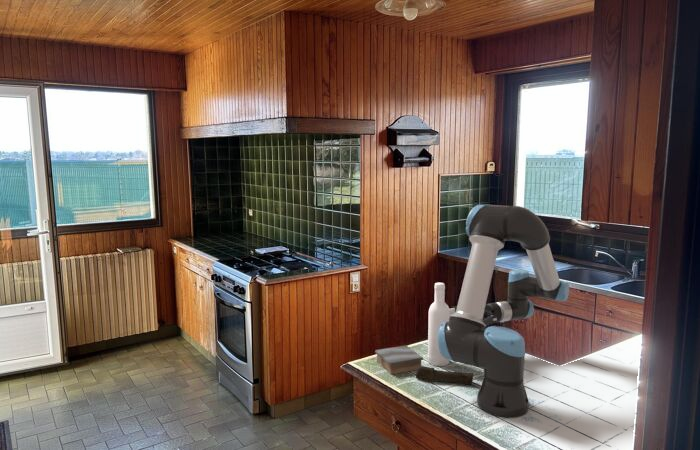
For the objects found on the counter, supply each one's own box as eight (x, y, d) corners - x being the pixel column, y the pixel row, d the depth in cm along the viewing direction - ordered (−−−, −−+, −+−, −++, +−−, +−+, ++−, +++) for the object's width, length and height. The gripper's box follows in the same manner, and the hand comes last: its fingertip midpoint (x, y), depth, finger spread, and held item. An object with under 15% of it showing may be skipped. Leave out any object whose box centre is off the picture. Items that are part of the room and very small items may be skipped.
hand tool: (472, 382, 172) (473, 369, 171) (472, 387, 168) (472, 373, 168) (417, 376, 177) (417, 363, 176) (415, 381, 173) (415, 368, 173)
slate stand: (422, 369, 182) (423, 357, 181) (390, 375, 177) (390, 363, 177) (406, 356, 194) (406, 345, 193) (375, 361, 189) (375, 350, 189)
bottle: (423, 362, 188) (424, 283, 185) (436, 356, 194) (437, 279, 190) (440, 368, 183) (441, 287, 179) (453, 362, 188) (455, 283, 184)
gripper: (517, 331, 185) (468, 339, 177) (477, 312, 208) (432, 318, 200) (518, 311, 184) (468, 318, 176) (478, 294, 207) (432, 300, 199)
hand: (449, 318), depth 188 cm, fingers open, 13 cm apart
